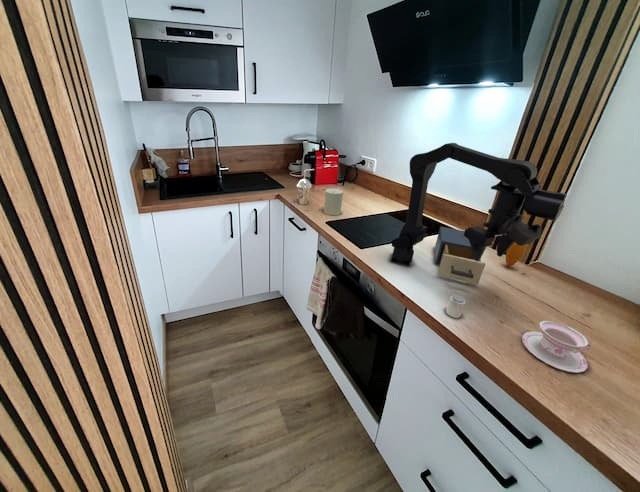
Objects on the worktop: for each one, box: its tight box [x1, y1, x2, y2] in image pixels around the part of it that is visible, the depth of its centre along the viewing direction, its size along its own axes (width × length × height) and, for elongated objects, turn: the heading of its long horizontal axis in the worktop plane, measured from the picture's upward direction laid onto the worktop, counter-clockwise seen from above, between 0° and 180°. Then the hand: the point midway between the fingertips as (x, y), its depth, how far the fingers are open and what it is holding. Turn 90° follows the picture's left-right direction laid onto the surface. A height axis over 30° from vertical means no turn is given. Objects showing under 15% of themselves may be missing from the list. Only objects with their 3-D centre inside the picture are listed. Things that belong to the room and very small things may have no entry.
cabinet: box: [434, 226, 482, 266], centre depth 106 cm, size 14×13×10 cm
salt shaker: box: [445, 294, 466, 319], centre depth 79 cm, size 4×4×6 cm
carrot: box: [505, 242, 528, 268], centre depth 101 cm, size 5×5×15 cm
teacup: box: [521, 320, 592, 374], centre depth 68 cm, size 12×12×6 cm
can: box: [322, 187, 344, 216], centre depth 148 cm, size 9×9×12 cm
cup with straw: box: [296, 168, 315, 205], centre depth 158 cm, size 8×9×20 cm
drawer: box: [437, 244, 486, 285], centre depth 96 cm, size 17×12×8 cm
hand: (487, 258), depth 83 cm, fingers open, 9 cm apart
